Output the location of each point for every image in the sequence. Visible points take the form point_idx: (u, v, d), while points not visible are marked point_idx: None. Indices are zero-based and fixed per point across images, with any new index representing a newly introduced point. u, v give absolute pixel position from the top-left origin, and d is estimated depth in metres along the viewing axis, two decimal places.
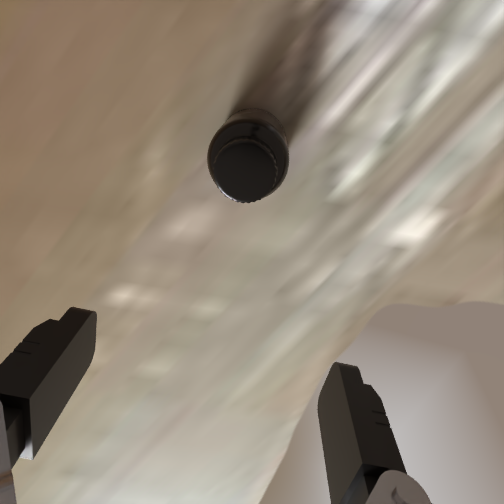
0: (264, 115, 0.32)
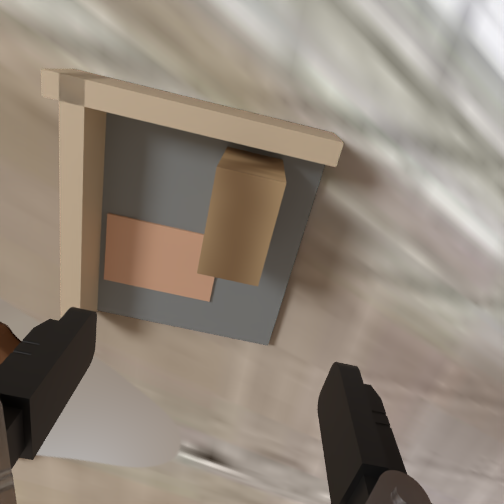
0: None
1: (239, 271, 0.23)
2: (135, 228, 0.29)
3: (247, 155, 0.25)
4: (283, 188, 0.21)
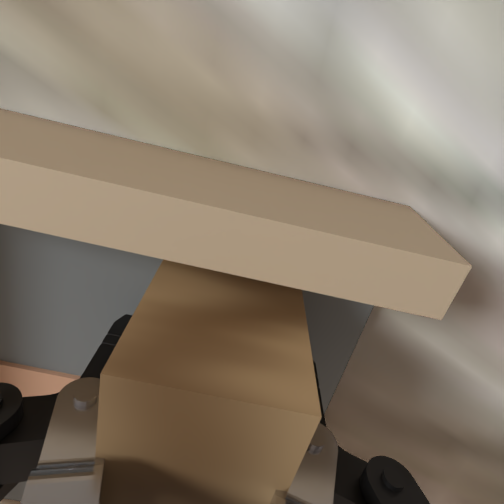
0: None
1: None
2: (5, 378, 0.15)
3: None
4: (311, 428, 0.07)
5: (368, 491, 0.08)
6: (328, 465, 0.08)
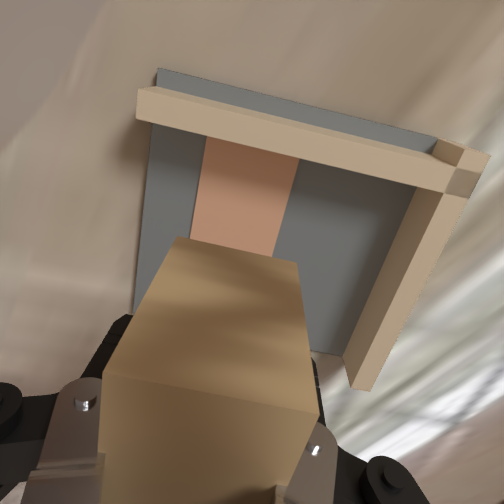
0: None
1: None
2: (280, 187, 0.24)
3: (217, 264, 0.11)
4: (309, 426, 0.07)
5: (368, 491, 0.08)
6: (328, 465, 0.08)
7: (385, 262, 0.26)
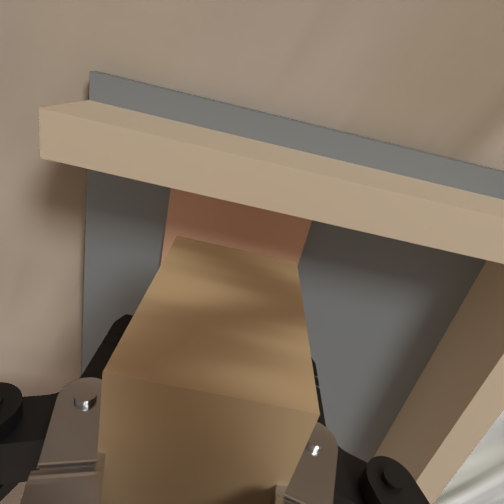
0: None
1: None
2: (285, 250, 0.16)
3: (217, 264, 0.11)
4: (310, 425, 0.07)
5: (368, 491, 0.08)
6: (328, 465, 0.08)
7: (438, 351, 0.18)
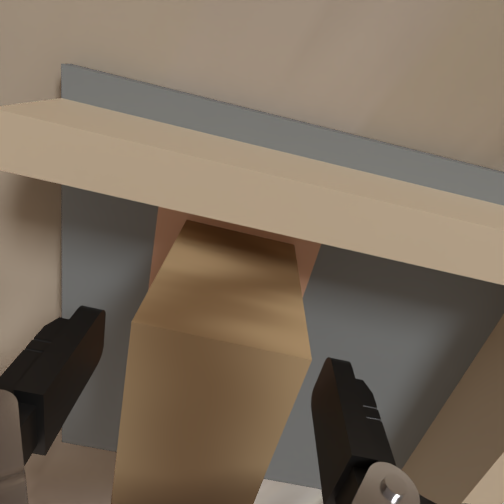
0: None
1: None
2: None
3: (223, 244, 0.12)
4: (303, 370, 0.08)
5: None
6: None
7: (462, 384, 0.16)
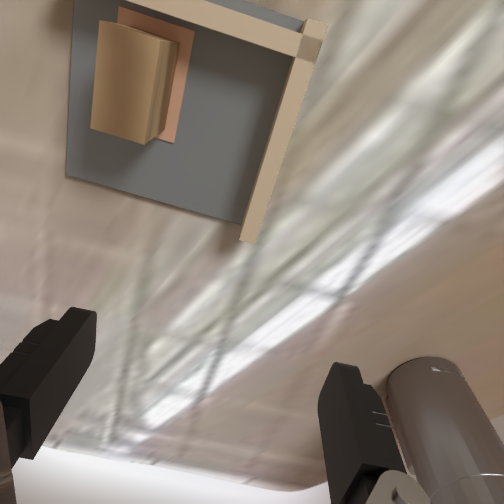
0: None
1: (127, 128, 0.27)
2: (180, 59, 0.30)
3: (144, 31, 0.28)
4: (158, 46, 0.24)
5: None
6: None
7: (269, 134, 0.32)
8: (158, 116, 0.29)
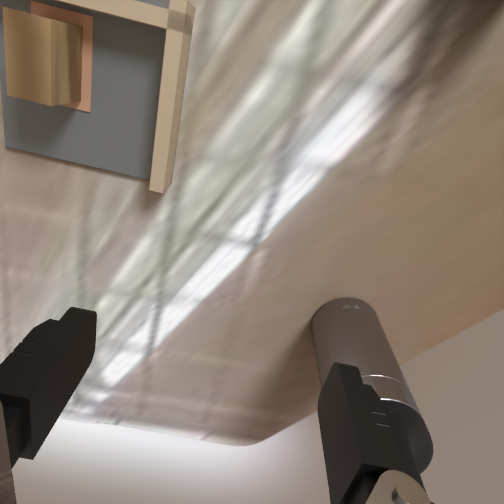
0: None
1: (36, 93, 0.34)
2: (85, 40, 0.37)
3: (50, 18, 0.35)
4: (49, 23, 0.31)
5: None
6: None
7: None
8: (67, 85, 0.36)
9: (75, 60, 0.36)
